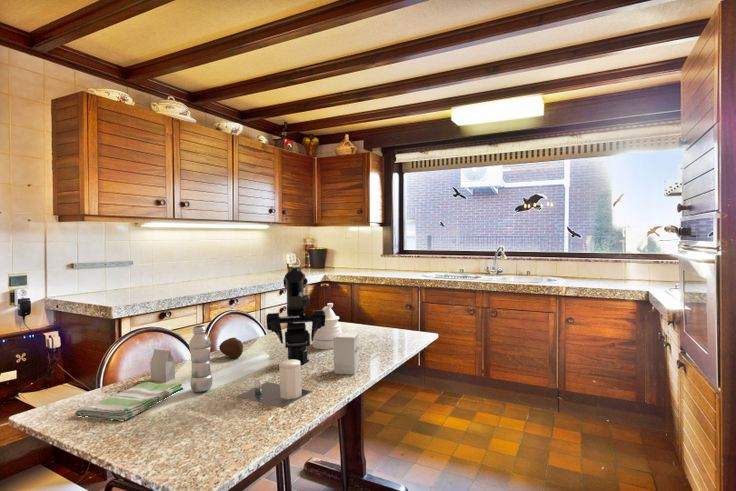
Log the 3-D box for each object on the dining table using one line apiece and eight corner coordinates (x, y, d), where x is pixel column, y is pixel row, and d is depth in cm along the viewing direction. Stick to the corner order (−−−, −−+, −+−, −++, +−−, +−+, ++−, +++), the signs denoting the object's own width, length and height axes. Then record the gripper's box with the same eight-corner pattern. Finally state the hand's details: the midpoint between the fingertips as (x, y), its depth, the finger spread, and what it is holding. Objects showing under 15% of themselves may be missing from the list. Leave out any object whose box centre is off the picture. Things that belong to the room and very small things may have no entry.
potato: (236, 361, 157) (236, 340, 157) (215, 359, 160) (215, 339, 160) (248, 355, 164) (247, 336, 163) (228, 354, 167) (227, 334, 167)
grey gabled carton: (166, 382, 136) (165, 352, 135) (151, 380, 138) (149, 350, 138) (175, 378, 139) (173, 349, 139) (160, 376, 141) (159, 347, 141)
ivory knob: (276, 396, 119) (274, 364, 118) (289, 389, 124) (288, 358, 123) (292, 400, 116) (291, 367, 115) (305, 393, 121) (304, 361, 120)
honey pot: (348, 343, 179) (347, 302, 178) (330, 350, 168) (329, 306, 167) (325, 339, 186) (324, 300, 185) (306, 346, 175) (305, 304, 174)
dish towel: (72, 419, 110) (72, 406, 110) (139, 387, 133) (138, 377, 133) (125, 424, 106) (125, 410, 106) (184, 391, 129) (184, 379, 129)
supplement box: (354, 374, 138) (353, 337, 137) (333, 374, 139) (332, 337, 139) (359, 367, 145) (358, 332, 145) (339, 367, 146) (338, 331, 146)
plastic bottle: (191, 396, 123) (188, 329, 122) (189, 389, 129) (187, 325, 128) (214, 392, 126) (211, 327, 125) (211, 385, 132) (209, 323, 131)
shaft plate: (235, 399, 120) (235, 384, 120) (267, 384, 131) (267, 371, 131) (282, 410, 111) (282, 395, 111) (312, 393, 122) (312, 379, 122)
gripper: (265, 288, 132) (264, 328, 120) (323, 285, 135) (328, 324, 124) (267, 310, 139) (266, 349, 128) (322, 307, 143) (326, 345, 131)
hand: (297, 341), depth 128 cm, fingers open, 9 cm apart
